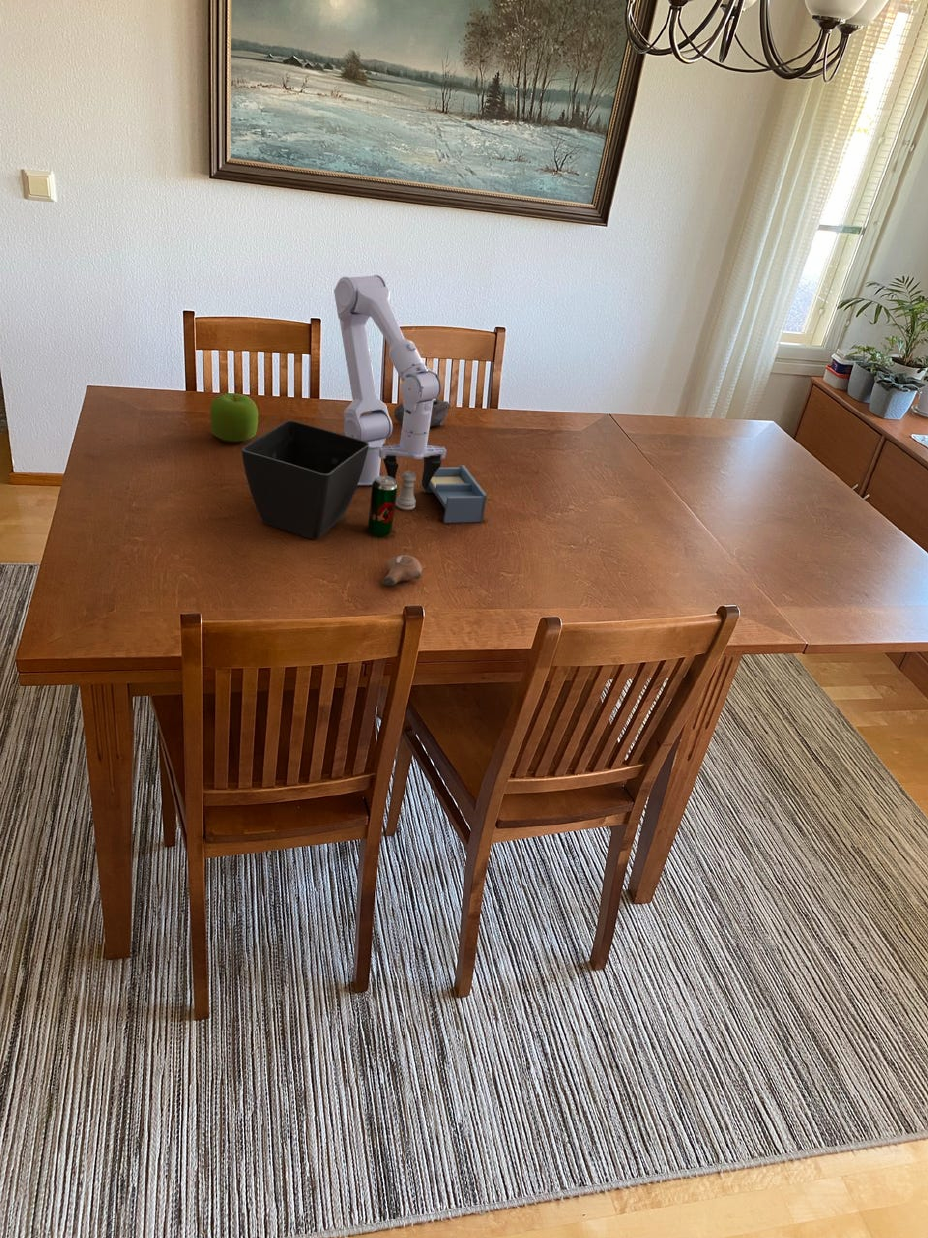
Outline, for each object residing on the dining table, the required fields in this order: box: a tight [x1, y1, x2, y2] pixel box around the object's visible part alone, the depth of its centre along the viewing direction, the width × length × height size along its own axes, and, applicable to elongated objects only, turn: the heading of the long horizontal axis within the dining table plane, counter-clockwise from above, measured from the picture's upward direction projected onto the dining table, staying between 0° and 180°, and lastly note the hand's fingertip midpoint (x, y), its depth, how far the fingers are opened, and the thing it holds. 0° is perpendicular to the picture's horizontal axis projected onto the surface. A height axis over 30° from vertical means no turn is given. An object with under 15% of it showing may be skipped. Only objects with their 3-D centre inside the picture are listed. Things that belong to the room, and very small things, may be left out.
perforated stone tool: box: [393, 399, 451, 428], centre depth 236 cm, size 15×5×7 cm, turn 101°
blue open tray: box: [423, 464, 488, 524], centre depth 199 cm, size 9×15×6 cm, turn 20°
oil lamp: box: [381, 554, 423, 587], centre depth 171 cm, size 9×4×8 cm
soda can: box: [367, 475, 398, 538], centre depth 182 cm, size 5×5×12 cm
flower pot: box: [241, 420, 369, 540], centre depth 180 cm, size 19×19×17 cm
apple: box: [209, 392, 259, 444], centre depth 210 cm, size 11×11×11 cm
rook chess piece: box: [395, 470, 418, 511], centre depth 195 cm, size 4×4×8 cm
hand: (407, 487), depth 195 cm, fingers open, 7 cm apart
